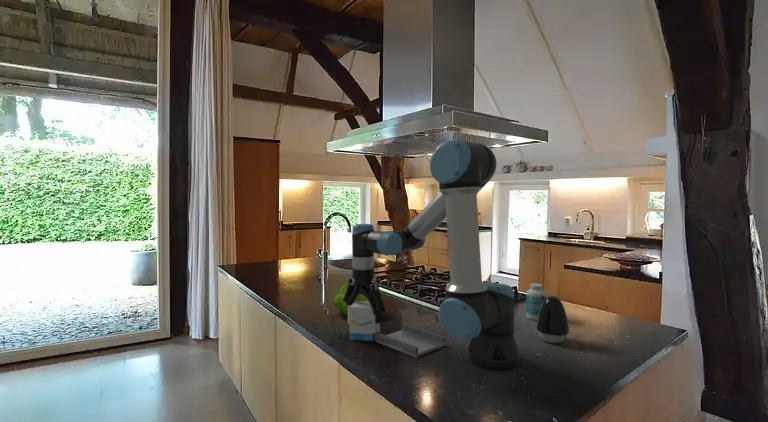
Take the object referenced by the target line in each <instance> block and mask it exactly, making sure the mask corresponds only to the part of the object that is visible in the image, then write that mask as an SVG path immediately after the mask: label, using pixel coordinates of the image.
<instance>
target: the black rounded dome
mask: <svg viewBox="0 0 768 422" xmlns="http://www.w3.org/2000/svg"><path fill="white" fill-rule="evenodd" d="M541 298H542V299H543V300H544V302H543V303H542V306H541V308H540V311H539V314H538V319H537V320H536V330H537V334H538V335H539V337H540V339H542V340H543V341H544V342H546V343H551V344H560V343H563V342H564V341H565V340H566V339H567V337H568V335H569V333H570V327H569V326H570V325H569V321H568V319H569V318H568V315H567V311H566V309H565V307H564V304H563V302H562V301H561V299H560V298H558V297H557V296H556V295H555V296H554V295H550V296H546V297H544V296H543V295H542V296H541Z"/></svg>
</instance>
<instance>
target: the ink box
mask: <svg viewBox="0 0 768 422" xmlns="http://www.w3.org/2000/svg"><path fill="white" fill-rule="evenodd" d="M376 310H377V309H376ZM373 313H374V311H373V309H372V307H371V305H370V303H369V302H367V301H356V302H355V303H353V304H352V305H351V306H350V323H349V341H362V342H363V341H365V342H374V341H375V333H373Z"/></svg>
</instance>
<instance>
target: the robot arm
mask: <svg viewBox="0 0 768 422" xmlns="http://www.w3.org/2000/svg"><path fill="white" fill-rule="evenodd" d="M496 169H497V158H496V155H495V153H494V152H493V150H492V149H491V148H490V147H488V146H487V145H485V144H483V143H474V142H469V141H464V140H461V139H460V140H459V139H458V140H457V139H456V140H446V141H443V142H442V143H440V144H438V146H436V149H435V150H434V151H433V152H432V154H431V157H430V161H429V171H430V174H431V176H432V177H433V178H434V180H435V181H437V182H438V185H439V186H438V189H439V192H438V193H437V194H436V195H435V197H434V198H433V199H432V200H431V201H430V202H428V204H427V205H426V206H425V207H424V208H423V209H422V210H421V211H420V212H419V213H418V214H417V215H416V216H415V217H414V218H413V219H412V220H411V222H409V224H408V225H406V226H405V227H404V228H403V229H397V230H389V231H387V230H386V231H379V230H378V231H377V230H375V227H374V225H373V224H371V223H356V224H354V225H353V226H352V231H351V239H352V241H351V243H352V244H351V245H352V246H351V249H352V250H351V251H352V253H351V254H352V255H351V257H352V258H351V259H352V262H351V263H352V264H351V265H352V268H353V269H352V272H351V273H352V275H351V276H352V278H349V279H348V283H347V284H348V287H347V290H346V293H345V296H344V299H343V302H346V304H347V313H348V315H347V324H350V306H351V305H352V304H353V303H354V301H355V300H356V298H357V297H358V295H359V294H362V295H364V296H365V297H366V298H367V299H368V301H369V303H370V305H371V307H372V309H373V311H374V313H373V333H377V332H378V333H380V332H381V323H382V314H383V313H386V306H385V305H384V302H383V298H382V295H381V292H380V287H379V283H374V284H373V280H374V278H375V272H374V271H375V269H374V266H375V265H374V264H375V263H374V262H375V261H374V260H375V259H374V257H375V254H377V255H378V254H379V255H382V256H383V255H384V256H396V255H398V254H399V253H401V252H406V251H408V252H409V251H415V250H418V249H421V248H423V246H424V245H425V242H426V238H427V237H428V236H430V234H431V233H433V231H435V230H436V228H437V227H438V226H439V225H440V224H441V223H443V221H445V220H446V231H447V246H448V261H449V262H448V263H449V276H450V277H449V278H450V282H449V283H450V284H449V285H448V286H447V287H445V300H443V301H442V302H441V304H440V305H439V308H438V319H439V320H438V321H439V323H440V325H441V327H442V329H443V330H444V331H445V332H446V333H447V334H448V335H449V336H450V337H451V338H454V339H455V340H458V341H469V340H470V339H471V340H470V343H469V346H468V349H467V359H468V360H469V361H470V363H472V364H474V365H476V366H479V367H480V368H481V367H482V368H485V369H490V370H508V369H512V368H515V367H518V366H519V365H520V362H521V359H520V358H521V355H520V351H519V348H518V344H517V342H516V338H515V336H514V335H515V334H514V333H515V332H514V331H515V330H514V327H515V325H514V323H515V322H514V321H515V315H514V314H515V295H514V293H515V292H514V289H513V287H512V286H510V285H507V284H505V283H498V282H492V281H491V282H489V281H483V279H482V277H483V276H482V263H481V262H482V261H481V260H482V259H481V244H480V243H481V242H480V230H479V228H480V227H479V213H478V212H479V211H478V209H479V208H478V194H479V192H480V191H481V190H483V188H484V187H485V186H486V185H487V184H489V182H490V181H491V180H492V178H493V176H494V174H495V173H496ZM347 297H348V298H347ZM376 309H377V310H376Z"/></svg>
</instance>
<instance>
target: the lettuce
mask: <svg viewBox="0 0 768 422" xmlns="http://www.w3.org/2000/svg"><path fill="white" fill-rule="evenodd" d="M347 287H348V283H346V284H344V285H342V286H341V287H340V289H339V290H337V293H336V294H335V297H334V303H333V304H334V307H335V308H336V310H338V311H339V312H340V313H341V314H343V315H347V316H348V313H347V304H346V302H343V299H344V296H345V293H346V290H347ZM347 298H348V297H347ZM356 301H367V302H369V301H368V299H367V298H366V297H365V296H364V295H362V294H359V295H358V297H357V298H356V300H355V301H354V303H355V302H356Z"/></svg>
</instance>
